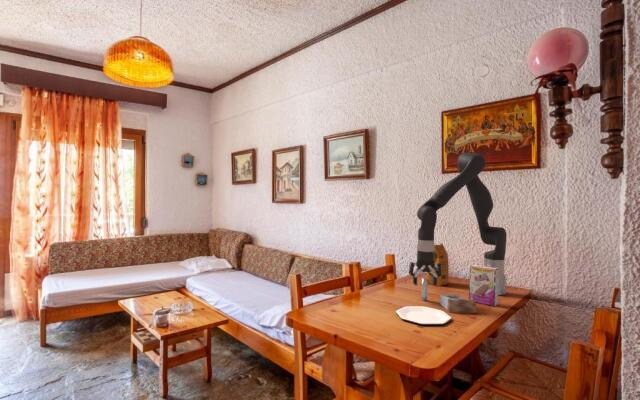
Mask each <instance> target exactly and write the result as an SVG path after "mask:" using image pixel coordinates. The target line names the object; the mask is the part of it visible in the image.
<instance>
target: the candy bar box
mask: <svg viewBox="0 0 640 400" xmlns="http://www.w3.org/2000/svg"><path fill="white" fill-rule="evenodd" d="M498 277H499V269H498V268H492V267H485V266H484V265H479V264H471V265H470V266H469V291H468V293H469V294H468V295H469V296H468V299H474V300H476V304H481V305H487V306H489V307H490V306H491V307H496V306H498V305H499V295H498Z"/></svg>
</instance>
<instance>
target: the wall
mask: <svg viewBox="0 0 640 400" xmlns="http://www.w3.org/2000/svg"><path fill="white" fill-rule="evenodd" d="M476 306H477V303H476V300H474V299H469V298H464V299H448V310H447V312H448V313H467V314H468V313H473V314H474V313H476V312H477V310H476V309H477V307H476Z"/></svg>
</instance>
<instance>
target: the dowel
mask: <svg viewBox="0 0 640 400" xmlns="http://www.w3.org/2000/svg"><path fill="white" fill-rule="evenodd" d="M428 285H429V284H428V279H427V278H426V277H423V278H421V301H422V302H427V301H428V290H429V289H428Z"/></svg>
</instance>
